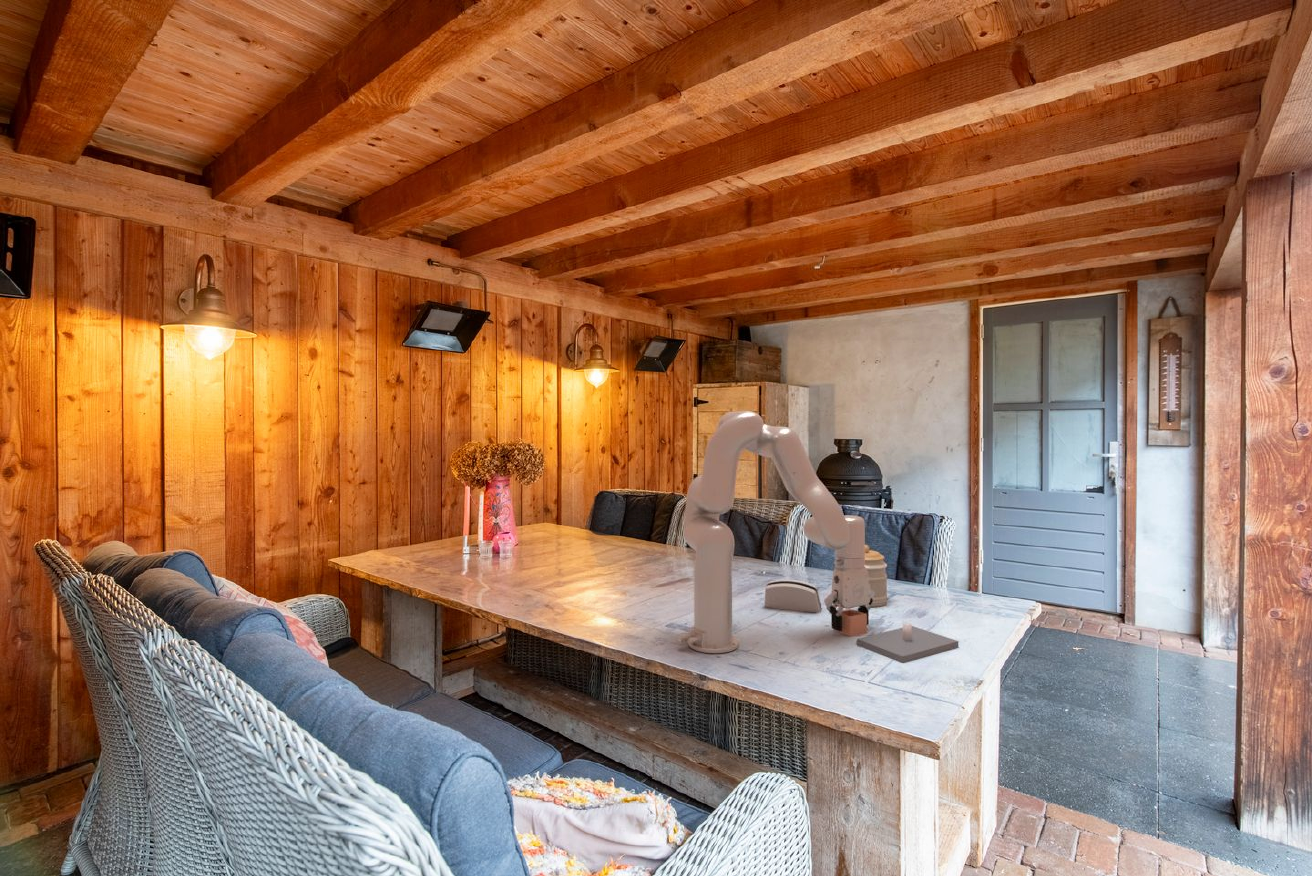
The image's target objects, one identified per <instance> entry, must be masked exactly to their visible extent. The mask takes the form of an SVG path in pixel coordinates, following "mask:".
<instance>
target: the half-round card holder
mask: <svg viewBox="0 0 1312 876" xmlns="http://www.w3.org/2000/svg"><path fill="white" fill-rule="evenodd" d="M764 589H765V593H764V607H765V608H772V609H782V610H790V611H801V612H807V613H808V612H810V613H820V612H821V609H822V602H821V599H820V595H819V594H820V593H819V591H818V587H817V586H816V585H815V584H812V583H809V582H806V581H802V580H797V579H785V578H784V579H776V580H771V581H768V583H766V585H765V588H764Z"/></svg>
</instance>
